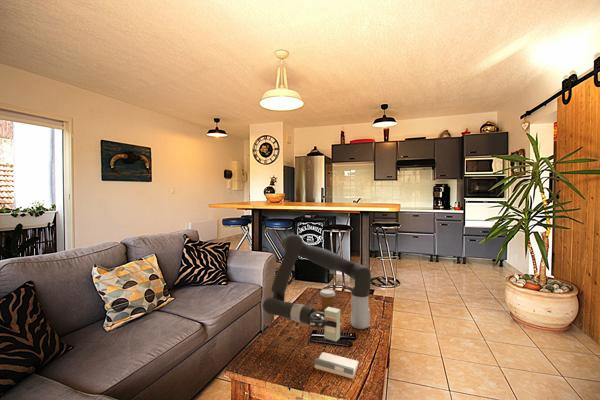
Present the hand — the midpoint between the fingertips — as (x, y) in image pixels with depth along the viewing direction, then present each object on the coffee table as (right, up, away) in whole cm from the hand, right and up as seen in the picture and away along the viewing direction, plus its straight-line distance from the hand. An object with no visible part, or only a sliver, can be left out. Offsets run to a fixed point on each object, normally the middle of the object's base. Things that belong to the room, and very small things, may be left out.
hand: (338, 322), depth 116 cm
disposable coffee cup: (+1, -17, +56) cm, 59 cm away
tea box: (-2, -7, +1) cm, 8 cm away
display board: (-1, -18, 0) cm, 18 cm away
